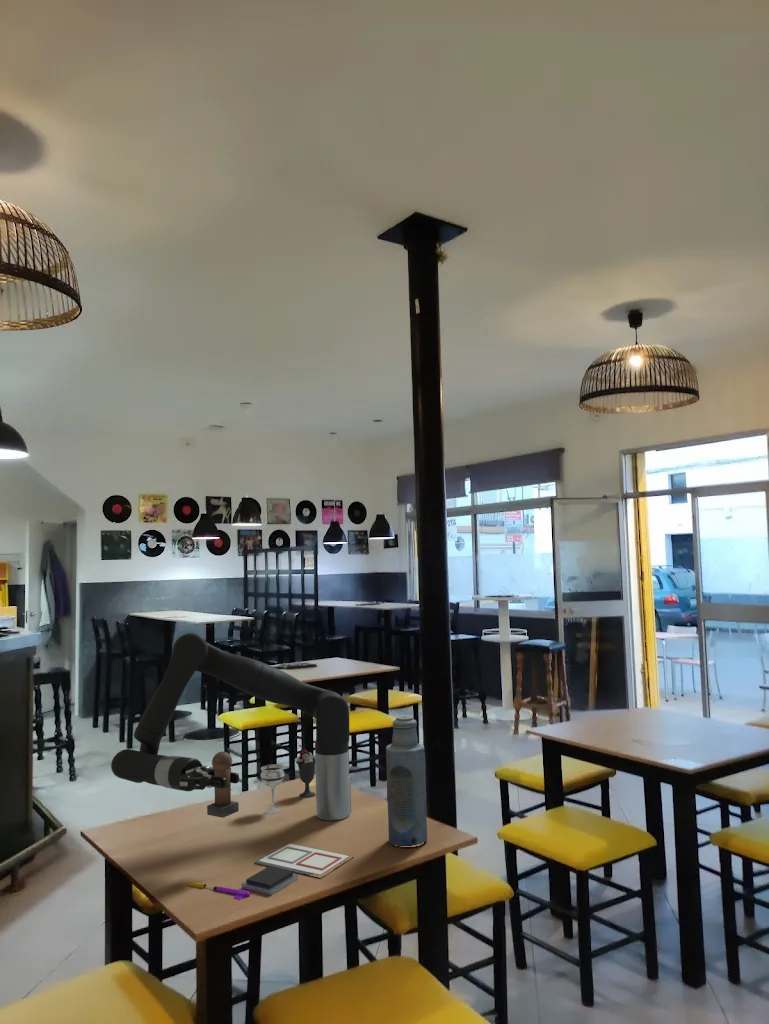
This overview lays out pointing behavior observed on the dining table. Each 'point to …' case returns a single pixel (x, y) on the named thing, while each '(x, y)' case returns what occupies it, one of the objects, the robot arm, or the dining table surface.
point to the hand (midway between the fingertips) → (231, 780)
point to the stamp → (222, 795)
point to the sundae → (306, 771)
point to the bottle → (406, 785)
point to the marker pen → (223, 890)
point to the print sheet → (302, 859)
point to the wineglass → (272, 781)
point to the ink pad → (269, 880)
